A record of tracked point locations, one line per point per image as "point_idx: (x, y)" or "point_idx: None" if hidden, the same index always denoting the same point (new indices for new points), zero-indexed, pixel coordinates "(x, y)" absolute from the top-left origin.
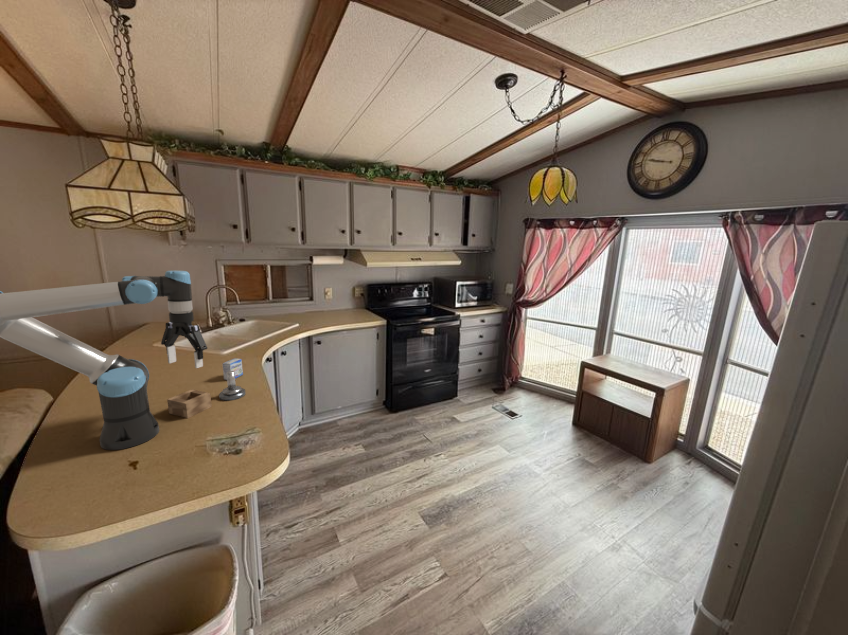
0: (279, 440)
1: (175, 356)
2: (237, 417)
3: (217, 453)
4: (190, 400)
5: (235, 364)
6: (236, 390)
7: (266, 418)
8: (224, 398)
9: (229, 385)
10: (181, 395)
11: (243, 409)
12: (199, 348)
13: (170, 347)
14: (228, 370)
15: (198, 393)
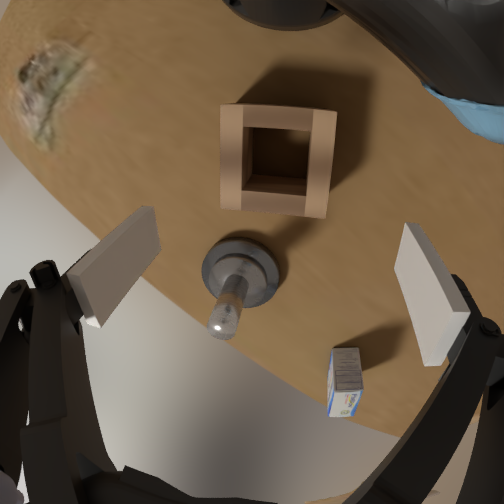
0: (3, 138)
1: (404, 290)
2: (111, 165)
3: (42, 48)
4: (230, 131)
5: (330, 396)
6: (214, 279)
7: (61, 189)
8: (231, 240)
9: (228, 286)
10: (312, 157)
11: (135, 206)
12: (17, 293)
13: (442, 328)
14: (340, 372)
15: (261, 192)
